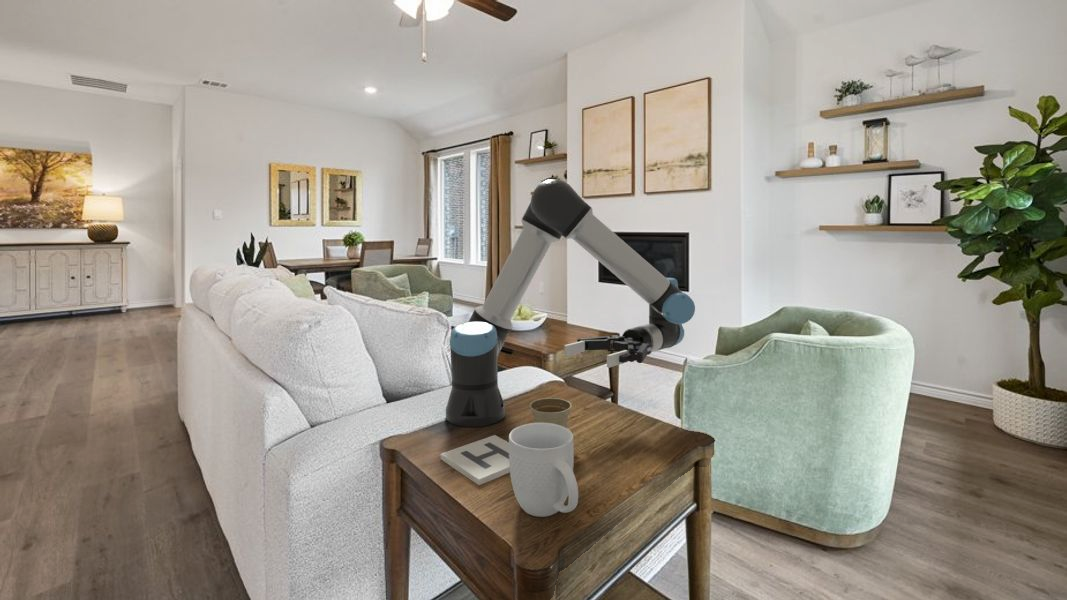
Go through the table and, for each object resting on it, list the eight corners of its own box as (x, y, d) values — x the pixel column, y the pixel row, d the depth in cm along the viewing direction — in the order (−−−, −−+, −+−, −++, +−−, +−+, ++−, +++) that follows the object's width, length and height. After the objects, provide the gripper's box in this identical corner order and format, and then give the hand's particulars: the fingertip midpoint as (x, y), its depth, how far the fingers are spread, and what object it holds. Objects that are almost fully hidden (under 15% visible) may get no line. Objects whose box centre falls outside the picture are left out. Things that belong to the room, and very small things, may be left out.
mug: (601, 522, 80) (602, 447, 78) (546, 547, 74) (546, 465, 72) (548, 483, 92) (548, 417, 90) (497, 501, 86) (496, 431, 84)
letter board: (440, 459, 102) (440, 453, 102) (494, 439, 111) (494, 434, 111) (478, 485, 91) (478, 479, 91) (535, 461, 100) (535, 456, 100)
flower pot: (521, 444, 108) (521, 407, 107) (543, 429, 116) (543, 395, 115) (558, 454, 104) (558, 415, 102) (578, 438, 111) (578, 402, 110)
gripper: (683, 363, 119) (628, 383, 105) (604, 346, 138) (549, 361, 124) (683, 333, 118) (628, 349, 104) (604, 320, 137) (549, 332, 123)
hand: (585, 355), depth 114 cm, fingers open, 13 cm apart
